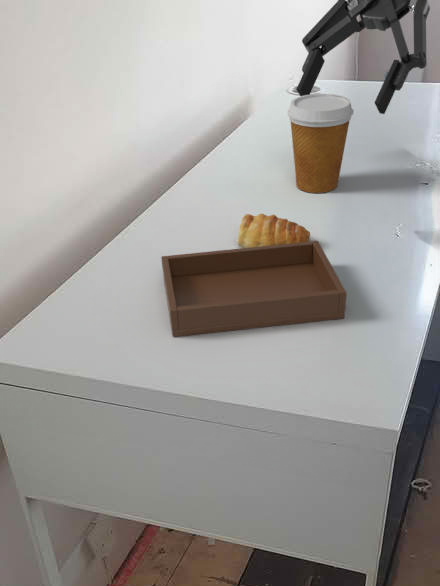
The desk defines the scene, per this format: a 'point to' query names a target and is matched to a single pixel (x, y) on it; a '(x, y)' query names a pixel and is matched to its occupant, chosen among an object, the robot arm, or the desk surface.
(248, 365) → the desk surface
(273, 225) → the pastry
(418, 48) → the robot arm
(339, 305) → the serving tray
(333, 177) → the disposable coffee cup
